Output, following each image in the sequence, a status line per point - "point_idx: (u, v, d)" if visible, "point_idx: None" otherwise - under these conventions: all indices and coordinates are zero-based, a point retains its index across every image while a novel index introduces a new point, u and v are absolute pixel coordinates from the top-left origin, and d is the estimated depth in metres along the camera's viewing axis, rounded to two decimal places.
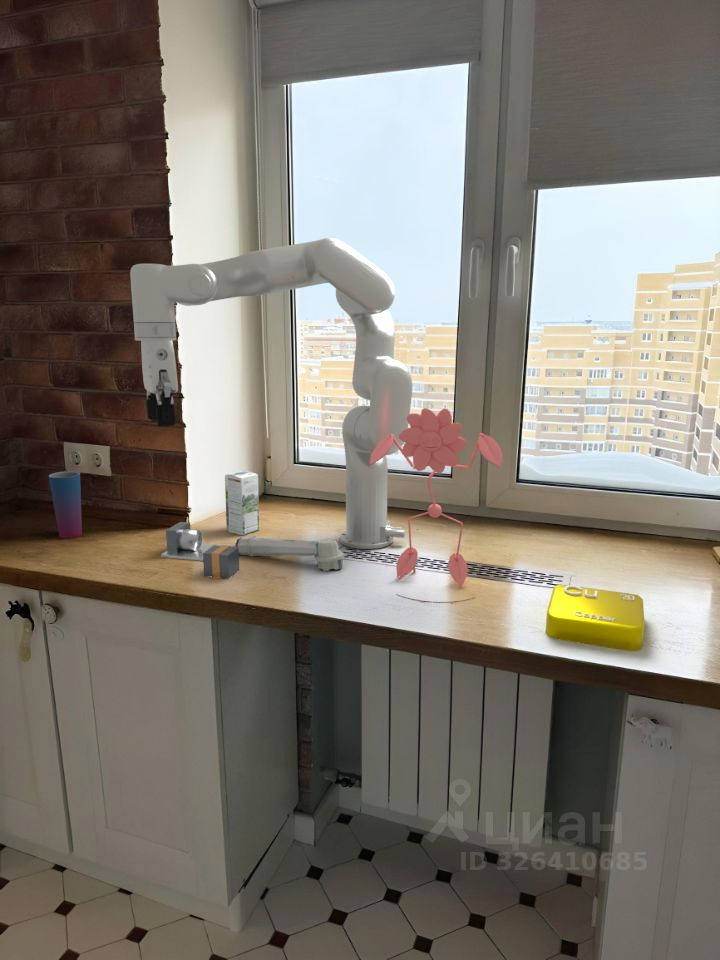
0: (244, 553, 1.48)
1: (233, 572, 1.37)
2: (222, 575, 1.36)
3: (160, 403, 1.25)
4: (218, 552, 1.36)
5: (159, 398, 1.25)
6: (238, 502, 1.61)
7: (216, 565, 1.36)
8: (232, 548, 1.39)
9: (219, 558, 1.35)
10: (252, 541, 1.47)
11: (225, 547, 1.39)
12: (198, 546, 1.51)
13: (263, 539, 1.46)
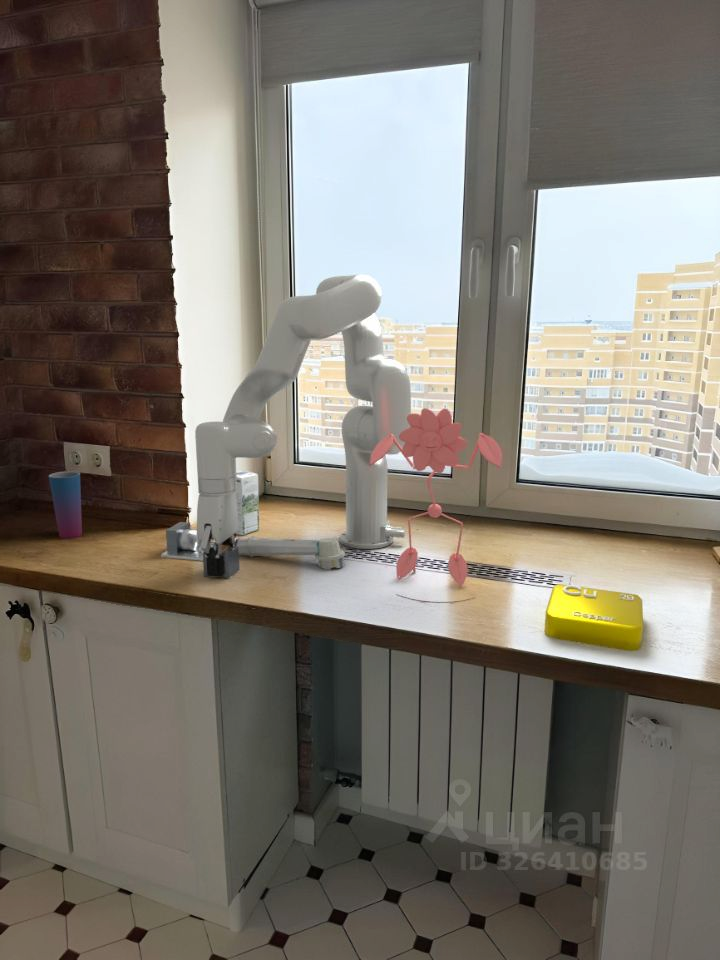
0: (243, 553, 1.48)
1: (233, 572, 1.37)
2: None
3: None
4: None
5: None
6: (238, 502, 1.61)
7: None
8: (232, 548, 1.38)
9: None
10: (251, 541, 1.47)
11: (225, 547, 1.39)
12: (198, 546, 1.51)
13: (262, 539, 1.47)
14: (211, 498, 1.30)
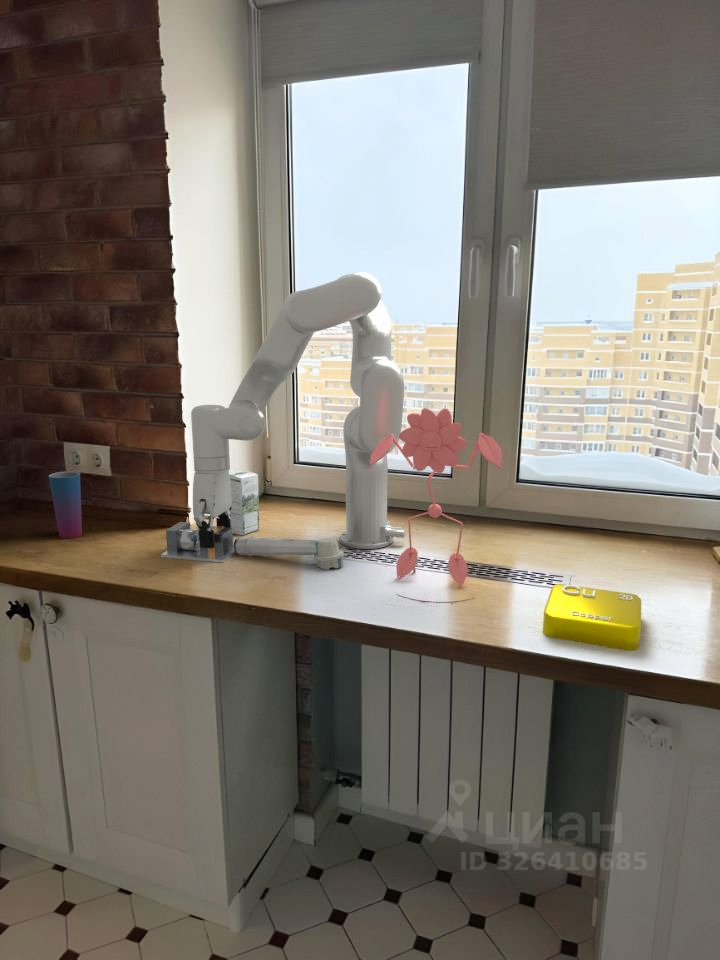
0: (242, 553, 1.48)
1: (227, 551, 1.48)
2: (217, 553, 1.47)
3: None
4: None
5: None
6: (238, 502, 1.61)
7: None
8: (226, 528, 1.49)
9: (214, 537, 1.46)
10: (250, 541, 1.47)
11: (220, 527, 1.49)
12: (198, 546, 1.51)
13: (261, 539, 1.47)
14: (206, 475, 1.41)
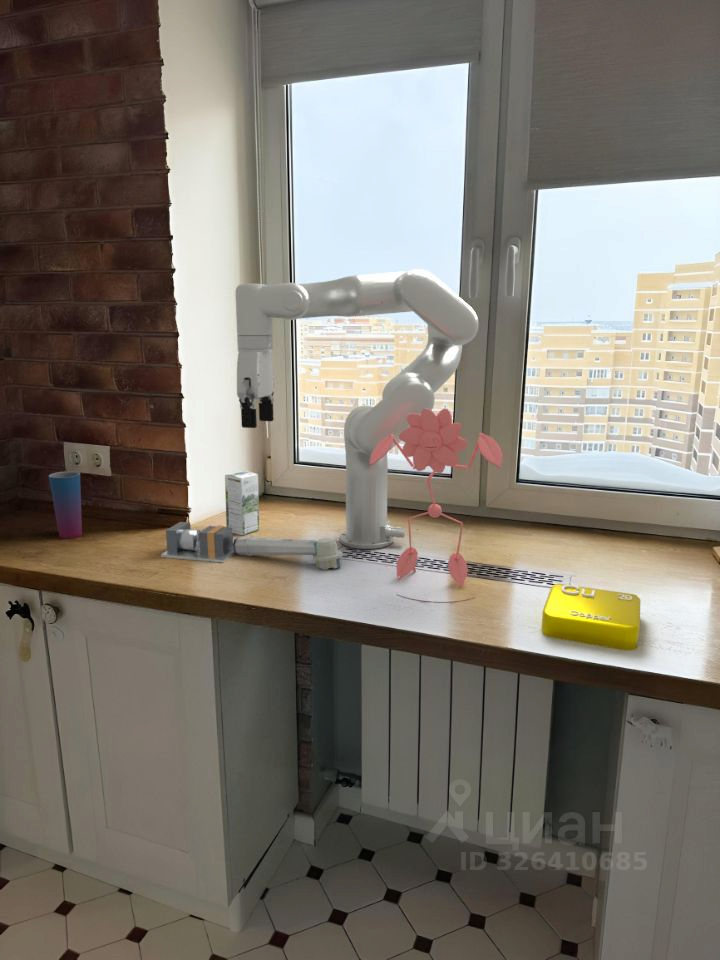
0: (241, 553, 1.48)
1: (227, 551, 1.48)
2: (217, 553, 1.47)
3: None
4: (213, 532, 1.46)
5: None
6: (238, 502, 1.61)
7: (211, 544, 1.46)
8: (226, 528, 1.49)
9: (214, 537, 1.46)
10: (249, 541, 1.47)
11: (220, 527, 1.49)
12: (198, 546, 1.51)
13: (260, 539, 1.47)
14: (250, 353, 1.40)
